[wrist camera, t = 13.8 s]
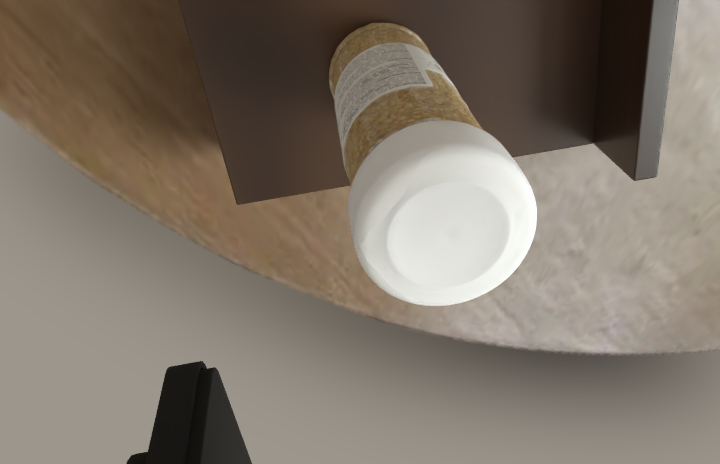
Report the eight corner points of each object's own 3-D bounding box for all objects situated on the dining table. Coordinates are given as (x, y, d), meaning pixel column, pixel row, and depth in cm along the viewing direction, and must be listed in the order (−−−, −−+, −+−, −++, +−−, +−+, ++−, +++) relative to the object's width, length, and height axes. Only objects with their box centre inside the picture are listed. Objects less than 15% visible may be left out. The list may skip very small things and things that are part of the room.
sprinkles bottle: (443, 104, 27) (555, 281, 16) (346, 138, 27) (385, 335, 16) (416, 1, 25) (525, 121, 13) (310, 40, 25) (326, 188, 14)
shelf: (245, 154, 34) (229, 251, 25) (193, -41, 29) (152, 0, 20) (565, 98, 34) (657, 177, 25) (572, -105, 29) (691, -92, 20)
